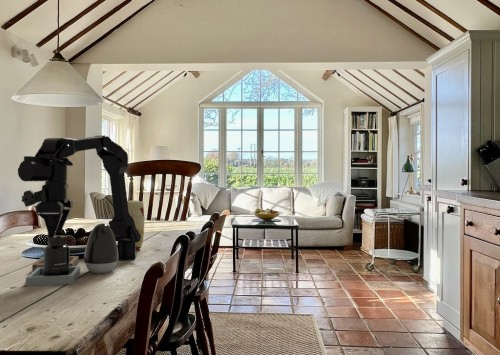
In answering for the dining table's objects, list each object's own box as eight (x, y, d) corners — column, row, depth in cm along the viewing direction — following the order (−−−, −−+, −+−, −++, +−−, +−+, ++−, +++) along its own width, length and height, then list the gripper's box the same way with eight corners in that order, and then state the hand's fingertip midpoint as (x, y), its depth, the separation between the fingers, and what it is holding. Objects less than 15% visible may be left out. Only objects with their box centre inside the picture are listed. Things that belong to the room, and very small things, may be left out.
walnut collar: (78, 263, 140) (78, 256, 140) (72, 271, 128) (72, 263, 128) (41, 264, 137) (42, 257, 137) (32, 272, 126) (32, 264, 126)
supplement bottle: (59, 281, 115) (59, 238, 115) (37, 279, 117) (38, 237, 117) (74, 275, 122) (74, 235, 122) (53, 273, 123) (54, 234, 123)
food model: (117, 251, 162) (118, 200, 162) (119, 248, 168) (120, 199, 168) (143, 250, 164) (144, 200, 163) (144, 247, 170) (145, 199, 170)
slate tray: (80, 273, 126) (80, 266, 126) (73, 283, 115) (73, 275, 115) (37, 274, 124) (37, 267, 124) (25, 285, 112) (25, 277, 112)
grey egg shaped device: (85, 277, 122) (86, 226, 122) (82, 269, 131) (83, 222, 131) (121, 273, 127) (122, 224, 127) (115, 266, 136) (116, 220, 136)
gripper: (34, 180, 126) (33, 230, 126) (14, 181, 108) (13, 240, 108) (73, 180, 129) (72, 230, 129) (60, 182, 110) (59, 240, 111)
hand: (55, 235), depth 119 cm, fingers open, 9 cm apart
